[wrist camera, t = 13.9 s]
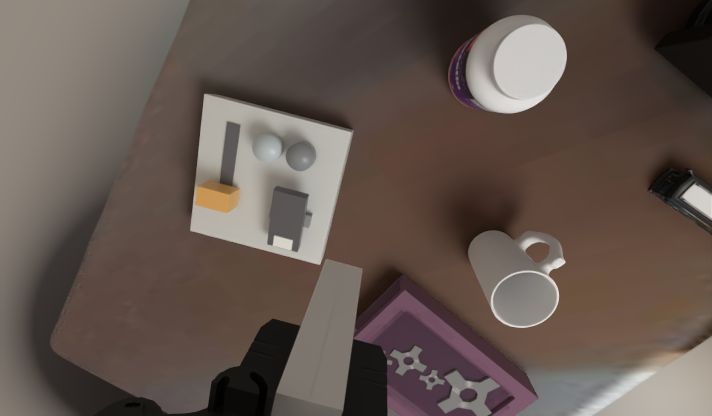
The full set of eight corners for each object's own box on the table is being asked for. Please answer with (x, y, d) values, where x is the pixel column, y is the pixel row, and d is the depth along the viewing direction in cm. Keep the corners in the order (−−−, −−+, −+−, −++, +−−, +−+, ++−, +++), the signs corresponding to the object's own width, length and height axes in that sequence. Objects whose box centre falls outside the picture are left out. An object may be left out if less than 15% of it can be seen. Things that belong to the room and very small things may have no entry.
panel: (216, 94, 44) (199, 93, 40) (353, 130, 44) (350, 133, 40) (201, 223, 50) (185, 233, 46) (323, 255, 49) (318, 268, 46)
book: (332, 339, 54) (327, 362, 50) (402, 271, 50) (404, 289, 45) (449, 428, 58) (455, 458, 53) (525, 372, 53) (539, 399, 48)
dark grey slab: (276, 185, 41) (272, 190, 40) (309, 194, 41) (306, 199, 40) (270, 239, 45) (266, 245, 44) (300, 246, 45) (297, 253, 44)
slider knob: (209, 180, 44) (196, 186, 41) (239, 188, 44) (229, 194, 41) (207, 198, 45) (194, 204, 42) (237, 206, 45) (227, 213, 42)
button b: (260, 129, 41) (254, 131, 40) (286, 136, 41) (281, 138, 40) (256, 155, 42) (250, 158, 41) (281, 162, 42) (276, 165, 41)
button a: (292, 138, 41) (288, 140, 40) (318, 145, 41) (315, 147, 39) (288, 164, 42) (283, 167, 41) (313, 170, 42) (310, 174, 40)
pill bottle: (464, 25, 39) (506, -15, 26) (530, 50, 40) (606, 25, 26) (435, 95, 42) (459, 94, 28) (497, 119, 42) (550, 129, 28)
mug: (488, 282, 49) (520, 339, 37) (455, 252, 48) (476, 300, 36) (547, 234, 46) (601, 279, 34) (513, 200, 45) (556, 235, 34)
